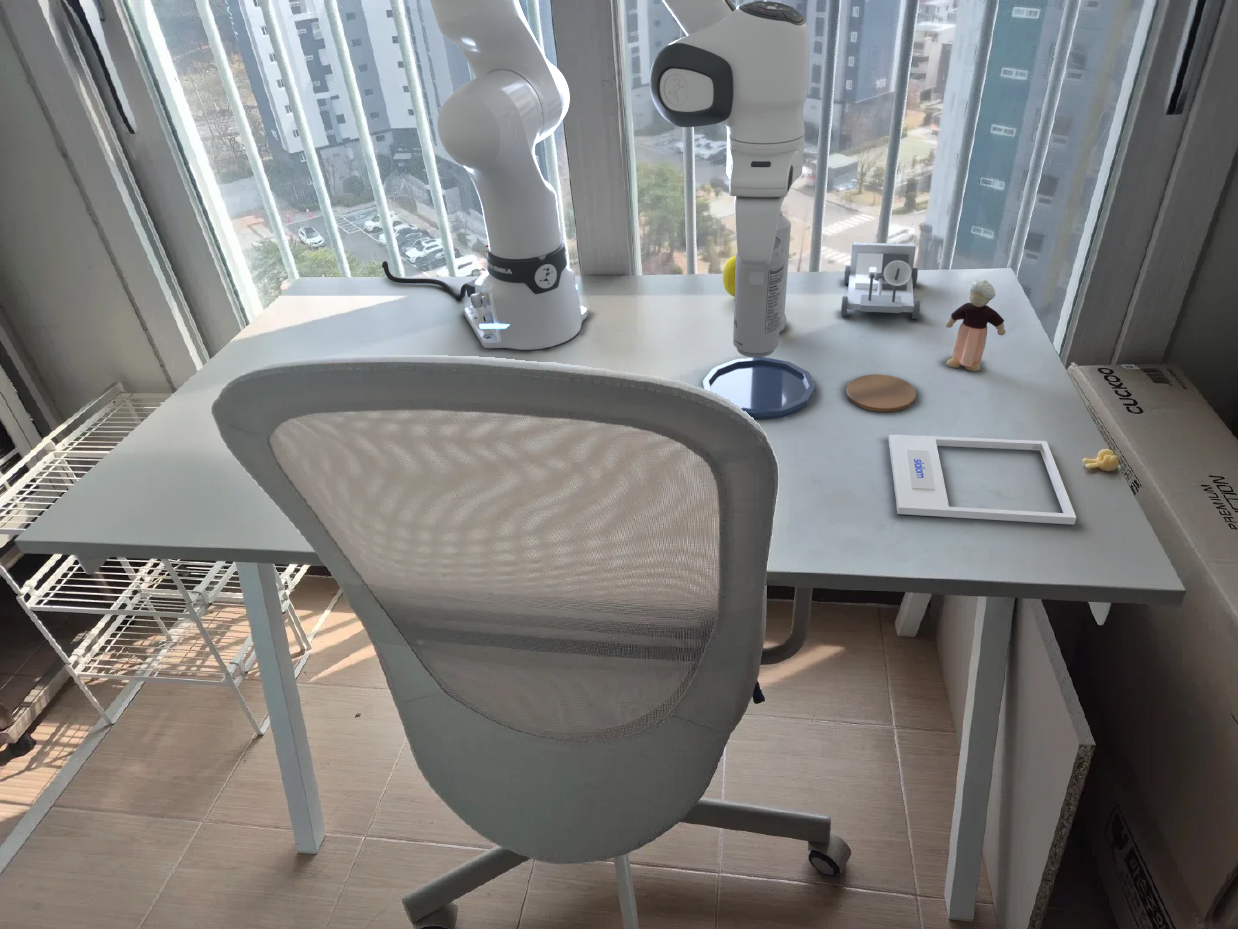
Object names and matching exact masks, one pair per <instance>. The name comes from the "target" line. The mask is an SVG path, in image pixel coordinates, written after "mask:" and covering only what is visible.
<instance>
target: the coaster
mask: <svg viewBox="0 0 1238 929" xmlns="http://www.w3.org/2000/svg"><path fill="white" fill-rule="evenodd" d="M845 396H846V398H847V399H848V401H849V402H851V403H852V404H853V405H855V406H856V407H858V408H861V409H863V410H867V411H871V412H875V413H893V412H898V411H899V412H900V411H902V410H905V409H907V408H909V407H911V406H912V405H913V404H914V402H915V401H916V397H917V392H916V389H915V387H914V386H913V385H912V384H911V383H910V382H908V381H906V380H904V379H902V378H900V377H897V376H893V375H889V374H888V375H887V374H866V375H862V376H857V377H855V378H854V379H852V380H850V382H849V383H848V384H847V386H846V388H845Z"/></svg>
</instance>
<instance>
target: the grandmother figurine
mask: <svg viewBox="0 0 1238 929" xmlns="http://www.w3.org/2000/svg"><path fill="white" fill-rule="evenodd" d="M968 289H969V290H968V292H969V302H966V303H964V304H963V305H961V306H959V307H958V308H956V309H955V310H954V311H953V312H952V313H951V314H950V316H949V318H948V319H947V321H946V322H945V324H944V325H945V327H946V328H948V329H950V328H952V327H953V326H954V324H956V322H957V321H960V320H962V321H961V324H960V325H959V328H958V331H957V334H956V339H955V342H954V345H953V351H952V354H951V358H949V359H947V361H946V366H947V367H949V368H955V369H957V368H960V367H962V366H963V367H964V368H965V370H968V371H970V372H971V371H972V372H978V371H980V370H981V362H982V358H983V355H984V351H985V347H986V344H987V343H986V342H987V338H988V324H990V325H991V326H993V327H995V329H996V330H997V331H996V332H997V335H999V336H1004V335H1005V334H1006V332H1007V331H1006V329H1005V325H1004V322H1005V319H1004V317H1002V316H1001V315H1000V313H998V311H996V310H995V309H994V308H992V307H990V306H989V305H988V303H989V302H990V301H992V300H993V299H994V298H995V296H997V294H996V290H995V288H994V286H993V284H991V283H990V282H989V281H988V280H986V279H978V280H975V281H973V282H972V283H971V284H970V285H969V288H968Z"/></svg>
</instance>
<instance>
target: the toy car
mask: <svg viewBox="0 0 1238 929" xmlns="http://www.w3.org/2000/svg"><path fill="white" fill-rule="evenodd" d="M916 250H917V243H892V242H891V243H889V242H888V243H887V242H885V243H884V242H855V241H853V242H852V244H851V253H850V254H851V255H850V264H849V265H845V267H844V277H843V284H844V285H848V289H847V296H846V295H845V296H842V298H841V310H840V316H843V317H847V314H848V310H852V311H859V312H864V313H865V312H866V313H867V312H868V313H887V314H888V313H889V314H890V313H892V314H901V313H911V319H912V320H918V319H919V317H920V310H921V299H919V298H918V299H917V298H914V287H917V282H918V275H919V269H918V267H914V264H915V257H916Z"/></svg>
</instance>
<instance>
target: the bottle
mask: <svg viewBox="0 0 1238 929" xmlns="http://www.w3.org/2000/svg"><path fill="white" fill-rule="evenodd" d="M783 214H784V212H783V211H782V210H780V214H779V219H778V225H777V231H776V237H778V238H779V239H780V240H781V244H780V245H781V247H782V249H783V251H784V253H785V260H784V274H783V288H782V302H781V317H780V331H779V333H780V332H782V331H784V329H785V327H786V323H787V315H786V300H787V299H786V298H787V288H788V287H787V286H788V272H789V259H790V258H789V257H790V243H791V229H792V223H791V221H790V220H789V218H787V217H786V216H785V215H783Z"/></svg>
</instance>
